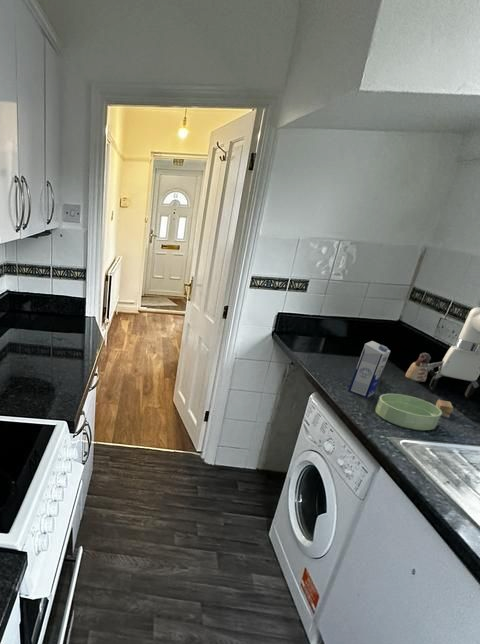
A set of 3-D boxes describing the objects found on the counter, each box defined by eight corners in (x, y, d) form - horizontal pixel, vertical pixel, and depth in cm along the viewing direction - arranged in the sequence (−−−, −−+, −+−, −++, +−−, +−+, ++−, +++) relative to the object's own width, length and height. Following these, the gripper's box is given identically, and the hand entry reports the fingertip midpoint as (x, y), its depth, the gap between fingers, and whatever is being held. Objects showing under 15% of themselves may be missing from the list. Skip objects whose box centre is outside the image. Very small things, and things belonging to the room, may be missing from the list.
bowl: (431, 416, 143) (437, 402, 141) (439, 437, 129) (446, 421, 127) (374, 403, 151) (379, 389, 149) (375, 421, 137) (380, 406, 135)
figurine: (428, 382, 173) (440, 355, 168) (417, 383, 171) (429, 356, 166) (412, 375, 179) (423, 349, 174) (400, 376, 177) (411, 350, 172)
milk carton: (355, 388, 162) (372, 340, 154) (373, 394, 158) (392, 345, 149) (347, 392, 158) (365, 343, 150) (366, 399, 154) (385, 349, 145)
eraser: (446, 411, 148) (450, 401, 146) (449, 417, 143) (453, 408, 141) (434, 408, 149) (438, 399, 148) (436, 415, 144) (440, 405, 143)
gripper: (501, 348, 135) (478, 395, 142) (436, 337, 143) (417, 382, 150) (507, 354, 129) (483, 403, 136) (439, 343, 137) (420, 389, 144)
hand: (449, 392), depth 143 cm, fingers open, 9 cm apart
